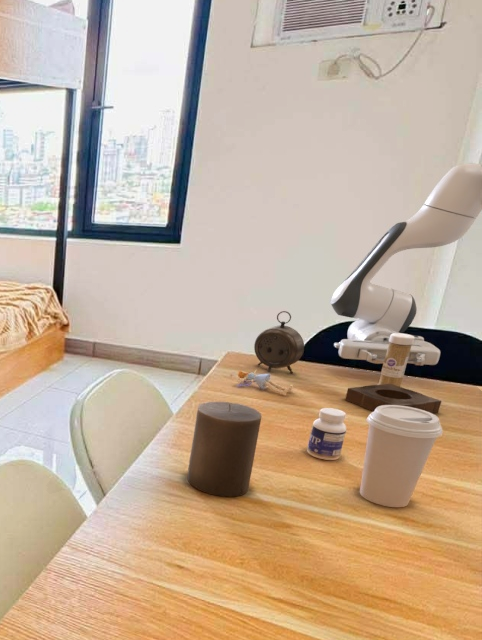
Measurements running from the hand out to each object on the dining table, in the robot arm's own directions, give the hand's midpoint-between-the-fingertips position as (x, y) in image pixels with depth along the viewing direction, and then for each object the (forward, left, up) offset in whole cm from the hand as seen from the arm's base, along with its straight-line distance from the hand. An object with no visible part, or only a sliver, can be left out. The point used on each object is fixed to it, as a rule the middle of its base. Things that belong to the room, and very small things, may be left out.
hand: (396, 360), depth 151 cm
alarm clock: (+16, -19, -7) cm, 26 cm away
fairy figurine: (+29, -8, -7) cm, 31 cm away
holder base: (+11, +10, -7) cm, 16 cm away
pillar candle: (+73, +32, -7) cm, 80 cm away
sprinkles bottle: (0, 0, -7) cm, 7 cm away
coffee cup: (+50, +43, -7) cm, 66 cm away
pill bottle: (+46, +27, -7) cm, 54 cm away
